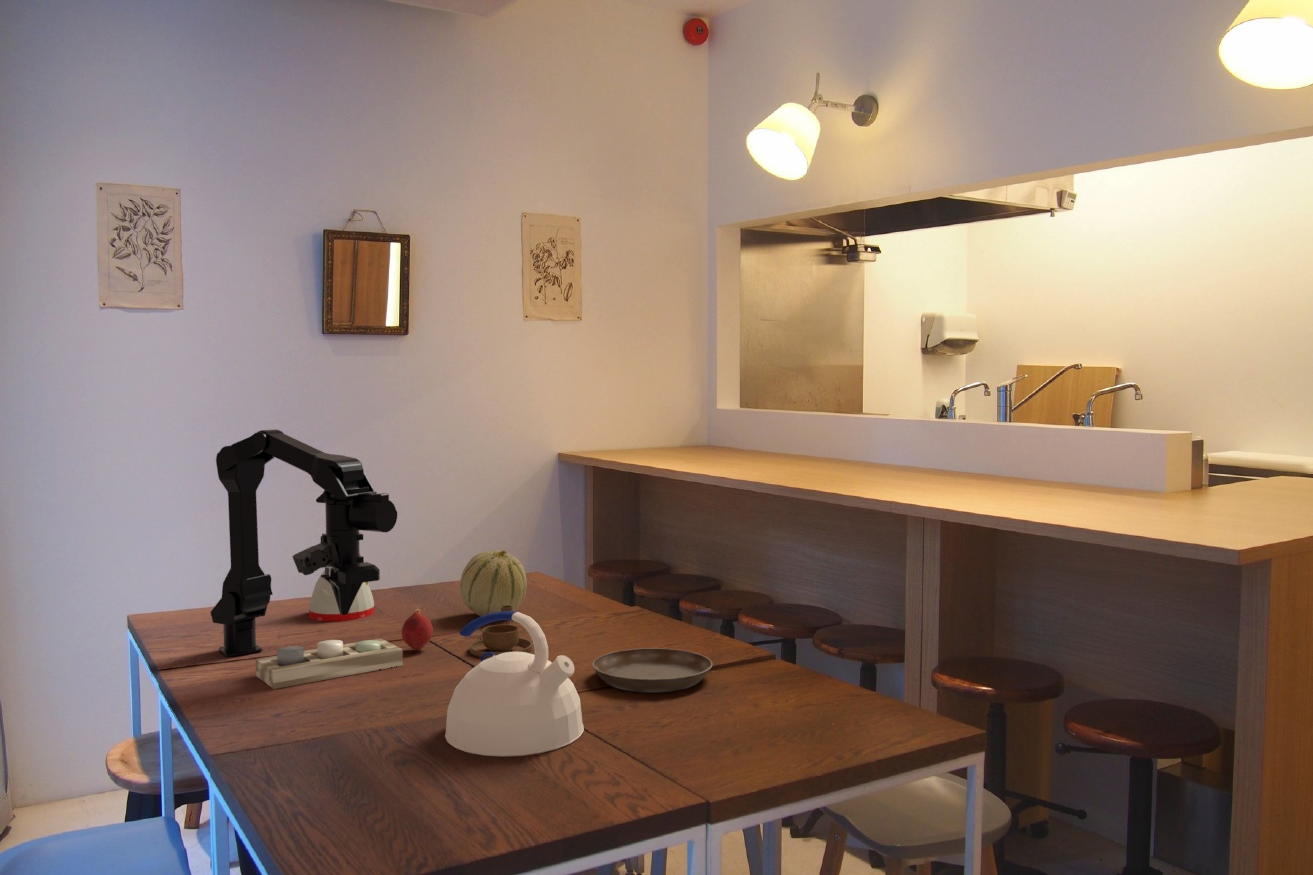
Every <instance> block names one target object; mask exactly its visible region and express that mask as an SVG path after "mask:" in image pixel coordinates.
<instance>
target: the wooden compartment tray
mask: <svg viewBox="0 0 1313 875" xmlns="http://www.w3.org/2000/svg"><path fill="white" fill-rule="evenodd" d="M374 640H377V641H380V648H381V650H375V651H369V652H363V653H358V652H356V648H355V644H356V643H357V642H351V643H350V642H349V643H346V644H344V643H343V656H340V657H334V658H328V659H318V658H317V648H314V649H309V650H304V663H299V664H293V665H287V666H279V665H277V655H272V656H265V657H260V658H255V676H256V677H257V678H258V679H260V680H261V681H262V682H263V683H265V684H266V685H267V686H269V687H271V688H272V689H273V690H275V689H276V690H277V689H281V688H287V687H292V686H298V685H305V684H310V683H315V682H320V681H325V680H331V679H336V678H341V677H347V676H348V677H349V676H353V675H358V674H365V673H369V672H374V671H380V670H379V669H381V670H385V669H391V667H392V668H396V666H397V667H403V666H404V663H403V662H404V661H403V660H404V659H403V658H404V657H403V656H404V654H403V651H404V650H403V648H402V647H399V646H397V645H395V644H393V643H390V641H387V640H385V639H383V638H376V639H374Z"/></svg>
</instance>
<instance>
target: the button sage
mask: <svg viewBox="0 0 1313 875" xmlns="http://www.w3.org/2000/svg"><path fill="white" fill-rule="evenodd" d="M355 643H356V642H355ZM355 648H356V652H358V653H363V652H369V651H375V650H381V648H380V641H377V640H375V639H370V640H368V639H367V640H361V641H358V642H357V643H356V644H355Z"/></svg>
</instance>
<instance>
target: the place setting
mask: <svg viewBox="0 0 1313 875" xmlns="http://www.w3.org/2000/svg"><path fill="white" fill-rule="evenodd" d="M503 611H513V606H511V605H504V606H501V612H503ZM481 632H482V635H481V637H482V638H481V637H480V638H478V639H479V640H478V639H477V640H475V641H473V642H472V643H470V644H469V647H468V648H469V652H470V654H471V655H472V656H475V657H478V658H481V657H482V655H483V654H485V653H487V651H480V650H478V649H481V648H484V647H485V648H486V649H488V650H490V651H489V652H492V653H494V654H495V656H496V655H499V654H502V653H507V652H526V653H530V652H531V650H532V648H533V641H532V640H529V639H527V638H522V637H520V628H519V627H518V625H514V624H513V625H512V624H510V620H504V624H492V625H487V626H486V627H483V628H482V630H481ZM480 639H481V640H480ZM520 645H523V646H522V647H524V648H521V649H518V650H512V649H513V648H515V647H516V646H520ZM483 646H484V647H483ZM477 648H478V649H477ZM488 658H491V656H490V655H486V657H485V659H488Z"/></svg>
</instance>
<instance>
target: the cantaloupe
mask: <svg viewBox="0 0 1313 875" xmlns="http://www.w3.org/2000/svg"><path fill="white" fill-rule="evenodd" d="M527 580H528V579H527V574H526V571H525V568H524V566H523V564H522V563H521V561H520V560H519V559H517V558H516V557H515V556H514V555H511V554H510V553H508V552H507V550H506V549H502V550H497V549H496V550H494V549H492V550H487V551H483V552H478V554H476V555H475V556H473V557H472V558H471V559H470V560H469V561H468V562H467V564H466V565H465V567H464V569H463V571H462V573H461V576H460V579H459V592H460V597H461V599H462V601H463V603H464V605H465V606H466V607H467V609H468V610H470V611H471V612H473V614H475V615H477V616H478V617H481V616H484V615H487V614H490V613H495V612H501V606H504V605H511V606H513V611H517V609H518V608H519V607H520V606H521V605H522V603H523V602H524V599H525V597H526V595H527V594H526V592H527V589H528V588H527V586H528V585H527V584H528V581H527Z"/></svg>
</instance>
